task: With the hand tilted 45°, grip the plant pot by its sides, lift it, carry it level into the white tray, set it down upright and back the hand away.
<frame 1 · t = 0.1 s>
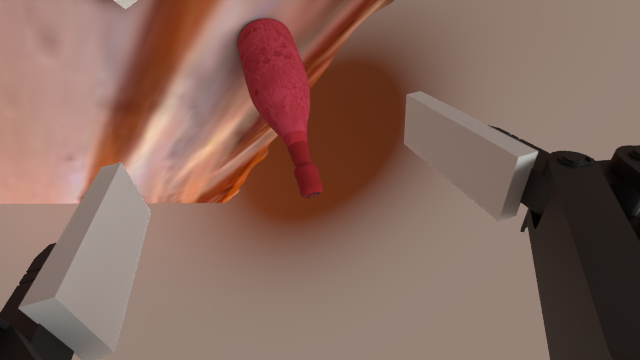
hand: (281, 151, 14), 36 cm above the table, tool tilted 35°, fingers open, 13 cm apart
wine bottle: (263, 37, 52), on the table
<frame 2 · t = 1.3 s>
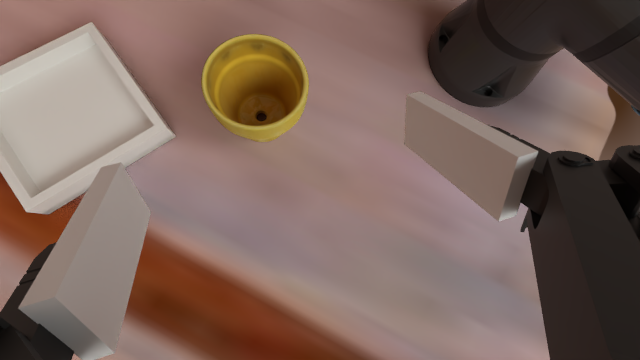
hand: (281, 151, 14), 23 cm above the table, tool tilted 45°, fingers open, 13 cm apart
white tray: (79, 120, 36), on the table
plant pot: (262, 119, 39), on the table
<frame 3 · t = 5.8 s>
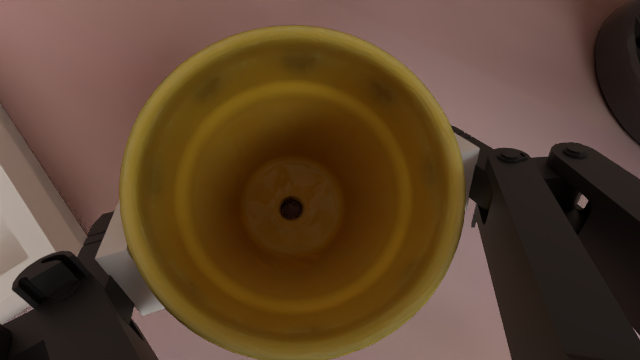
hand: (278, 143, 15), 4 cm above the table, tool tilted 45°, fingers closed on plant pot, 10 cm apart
plant pot: (292, 209, 18), on the table, touching gripper
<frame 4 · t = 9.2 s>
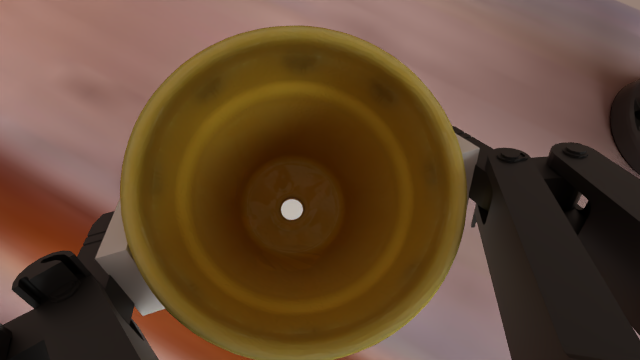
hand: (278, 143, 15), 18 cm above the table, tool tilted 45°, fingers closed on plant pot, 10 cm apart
white tray: (256, 216, 32), on the table
plant pot: (293, 210, 18), point 14 cm above the table, touching gripper
when the fingers open (6 cm above the table, at t = 12.7 s): plant pot drops 1 cm, resting on white tray.
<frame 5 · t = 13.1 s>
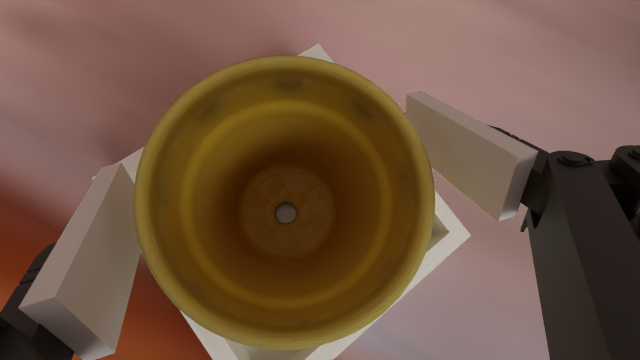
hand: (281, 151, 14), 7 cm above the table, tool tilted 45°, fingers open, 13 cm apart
white tray: (290, 213, 21), on the table
plant pot: (287, 213, 20), point 1 cm above the table, touching white tray
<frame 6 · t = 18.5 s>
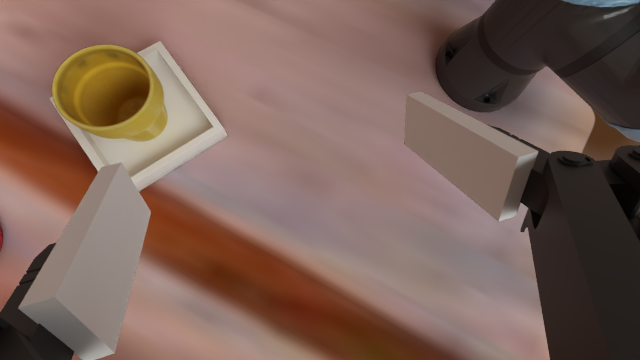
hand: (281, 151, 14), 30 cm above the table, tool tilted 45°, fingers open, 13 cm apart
white tray: (148, 122, 43), on the table
plant pot: (143, 120, 42), point 1 cm above the table, touching white tray
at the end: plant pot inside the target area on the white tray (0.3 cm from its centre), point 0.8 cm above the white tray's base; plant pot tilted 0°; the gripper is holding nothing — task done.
